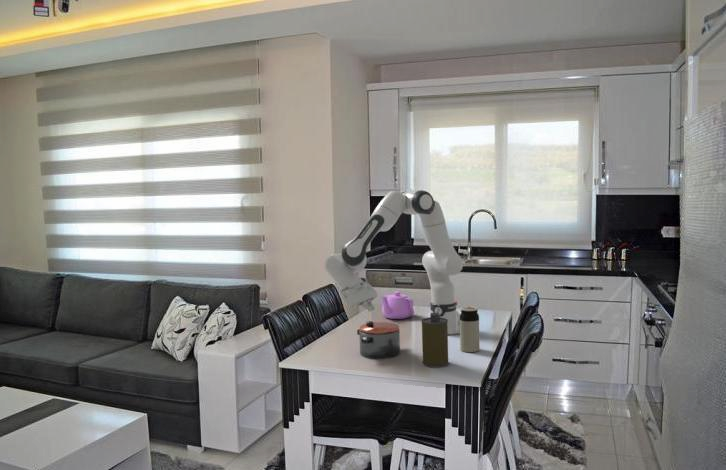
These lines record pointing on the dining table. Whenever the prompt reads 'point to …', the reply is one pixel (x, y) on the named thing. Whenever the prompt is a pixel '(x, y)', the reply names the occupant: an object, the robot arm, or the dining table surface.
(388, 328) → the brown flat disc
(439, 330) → the canister
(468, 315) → the travel mug
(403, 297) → the teapot
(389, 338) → the cooker pot
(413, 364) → the dining table surface
